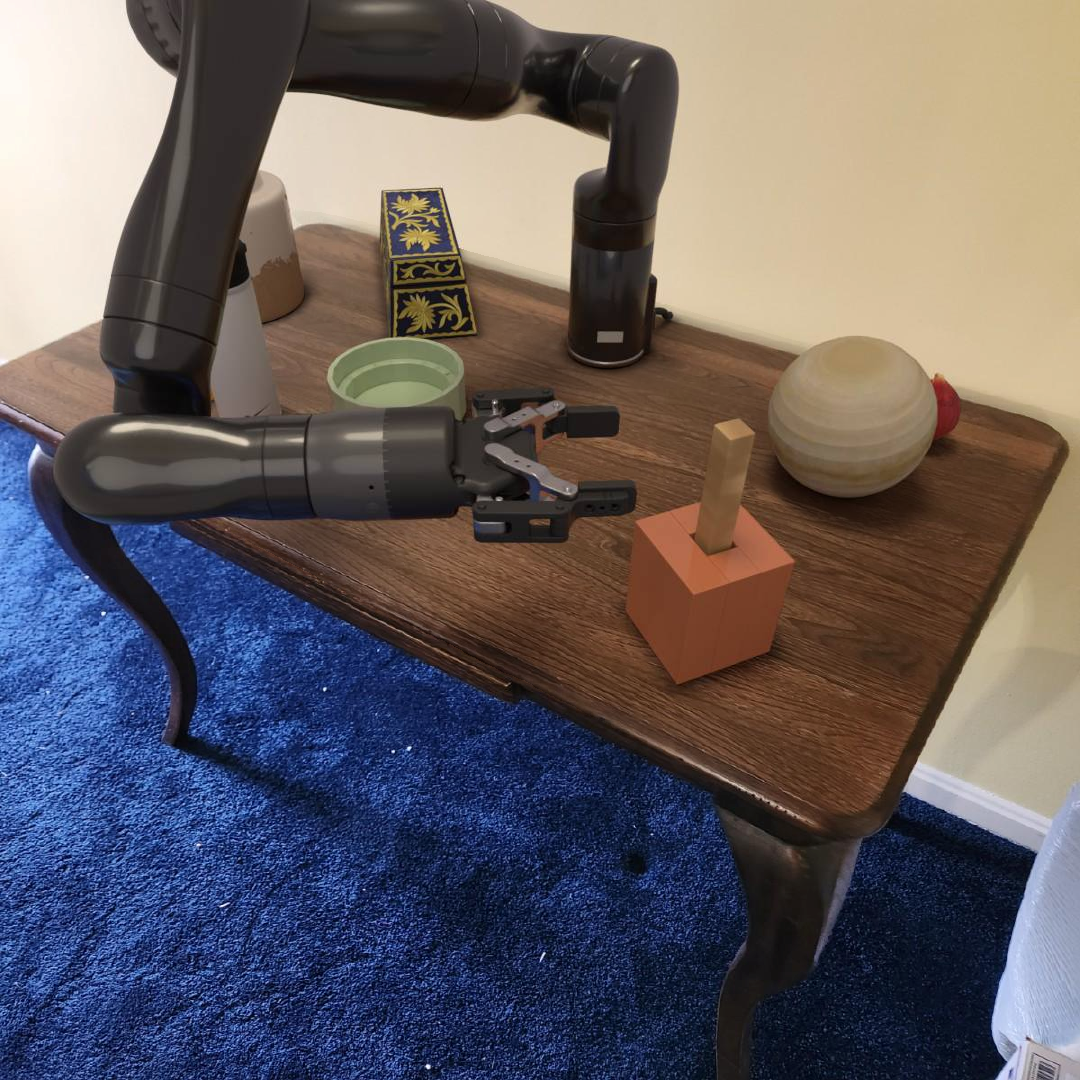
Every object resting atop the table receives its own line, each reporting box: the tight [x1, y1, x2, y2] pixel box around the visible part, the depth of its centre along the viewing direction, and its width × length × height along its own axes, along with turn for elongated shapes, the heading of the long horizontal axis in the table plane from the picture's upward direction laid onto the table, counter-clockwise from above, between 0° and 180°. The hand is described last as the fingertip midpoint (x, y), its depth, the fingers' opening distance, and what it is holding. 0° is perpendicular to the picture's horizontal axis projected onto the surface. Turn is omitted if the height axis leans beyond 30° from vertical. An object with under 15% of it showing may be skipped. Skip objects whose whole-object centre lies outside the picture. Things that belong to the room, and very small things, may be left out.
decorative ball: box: [766, 335, 937, 499], centre depth 81 cm, size 15×15×15 cm
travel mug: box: [211, 239, 283, 418], centre depth 85 cm, size 6×7×20 cm
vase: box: [239, 169, 305, 324], centre depth 108 cm, size 15×15×17 cm
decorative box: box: [379, 187, 478, 340], centre depth 114 cm, size 11×30×9 cm, turn 10°
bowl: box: [326, 337, 467, 421], centre depth 92 cm, size 14×14×6 cm
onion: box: [930, 372, 962, 441], centre depth 88 cm, size 6×6×8 cm
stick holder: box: [624, 501, 796, 686], centre depth 67 cm, size 9×9×10 cm
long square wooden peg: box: [694, 417, 756, 557], centre depth 64 cm, size 2×2×20 cm
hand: (626, 456), depth 58 cm, fingers open, 8 cm apart
